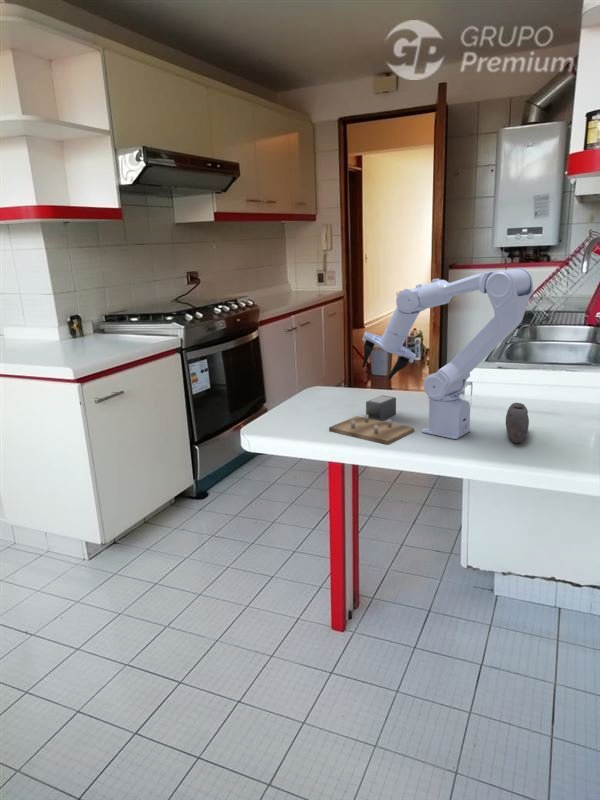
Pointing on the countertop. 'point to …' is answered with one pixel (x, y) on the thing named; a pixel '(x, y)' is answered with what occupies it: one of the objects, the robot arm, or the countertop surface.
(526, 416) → the perforated stone tool
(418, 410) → the countertop surface
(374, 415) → the block
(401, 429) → the pin tray
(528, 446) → the countertop surface
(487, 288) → the robot arm
